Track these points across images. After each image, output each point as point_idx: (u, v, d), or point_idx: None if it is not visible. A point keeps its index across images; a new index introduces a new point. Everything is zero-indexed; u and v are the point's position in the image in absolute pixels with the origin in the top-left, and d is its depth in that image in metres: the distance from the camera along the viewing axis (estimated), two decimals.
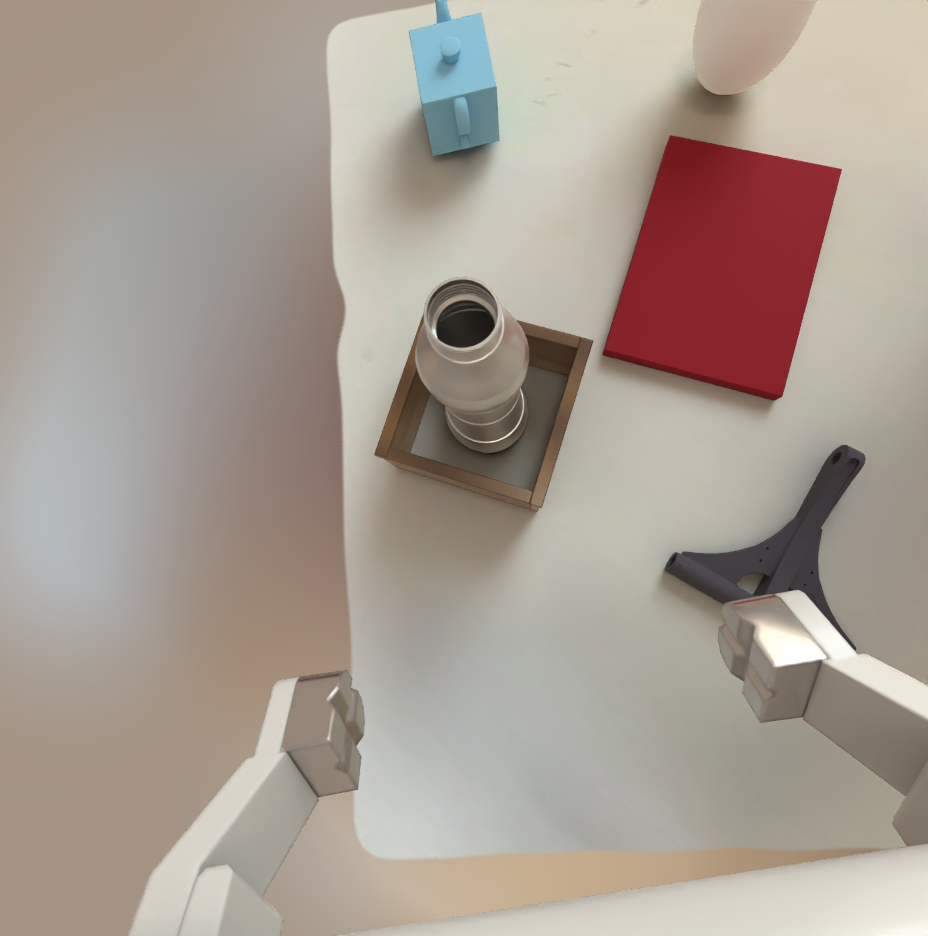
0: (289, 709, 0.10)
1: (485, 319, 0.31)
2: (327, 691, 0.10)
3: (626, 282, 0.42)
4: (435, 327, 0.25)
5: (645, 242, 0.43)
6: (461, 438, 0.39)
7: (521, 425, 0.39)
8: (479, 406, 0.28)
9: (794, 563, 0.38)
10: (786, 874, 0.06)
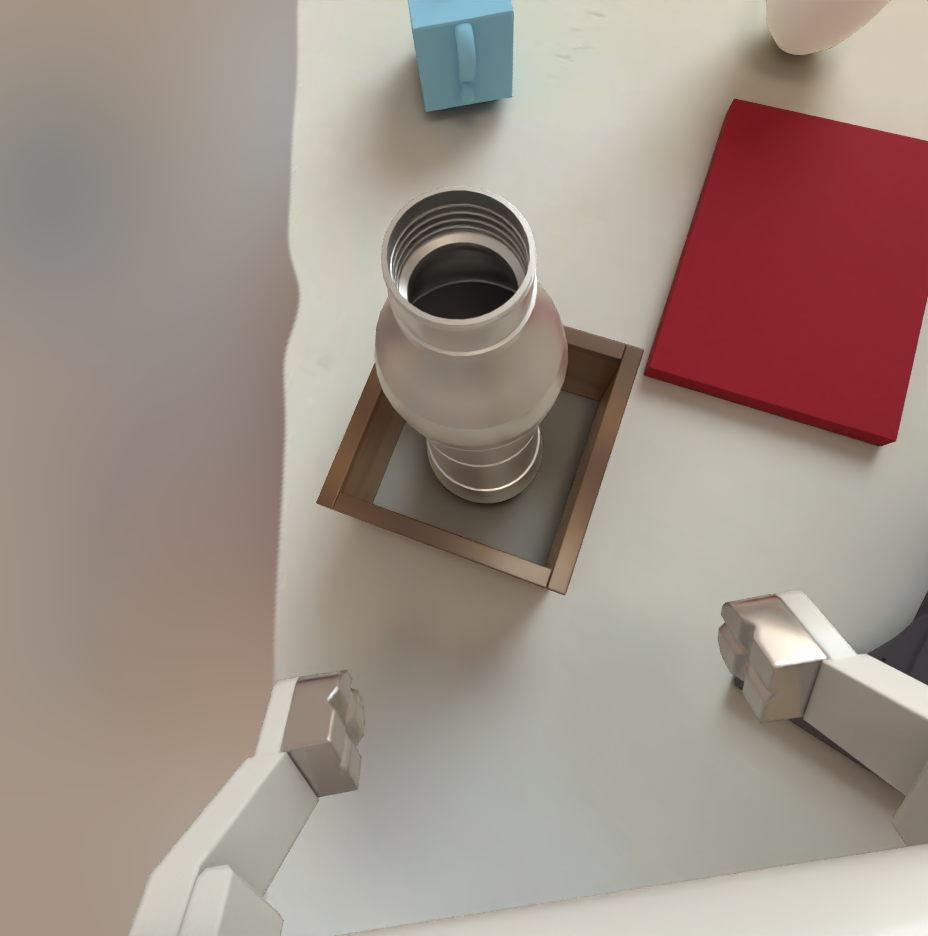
0: (289, 709, 0.10)
1: (492, 300, 0.19)
2: (327, 691, 0.10)
3: (678, 279, 0.31)
4: (406, 289, 0.14)
5: (703, 229, 0.32)
6: (447, 482, 0.27)
7: (534, 467, 0.27)
8: (480, 438, 0.16)
9: None
10: (786, 874, 0.06)
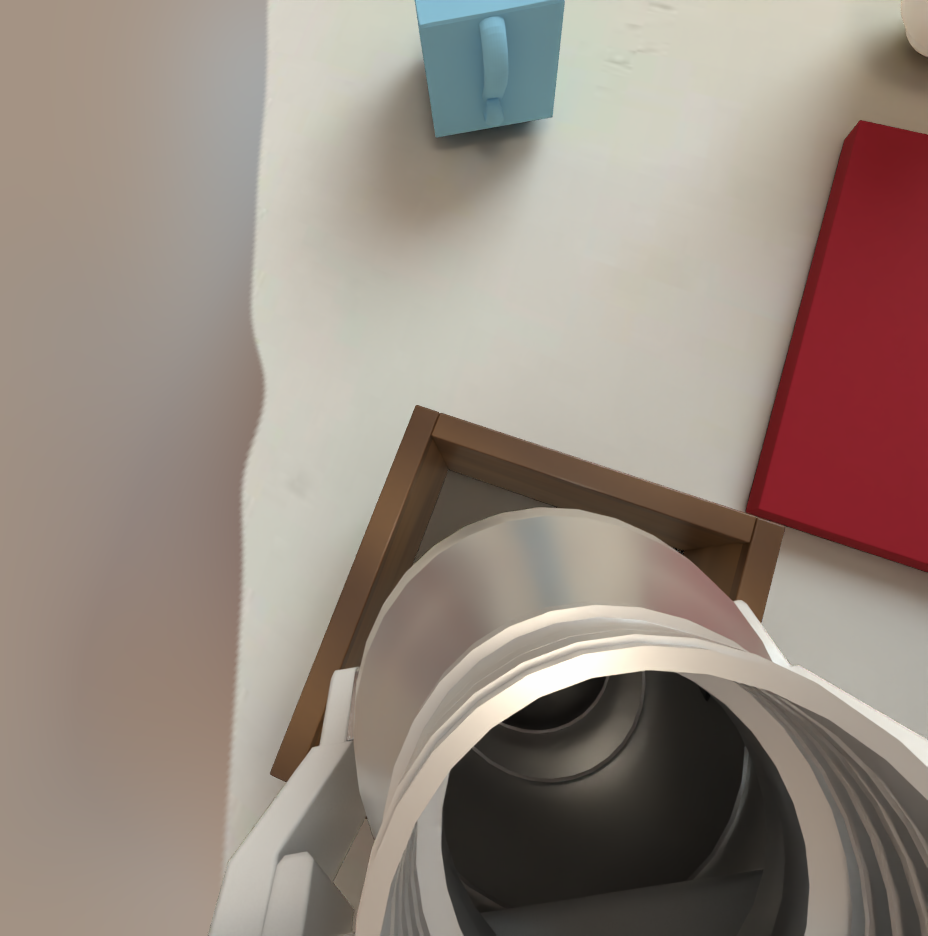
0: (351, 698, 0.10)
1: None
2: None
3: (794, 378, 0.22)
4: (438, 810, 0.04)
5: (826, 305, 0.23)
6: None
7: None
8: None
9: None
10: None
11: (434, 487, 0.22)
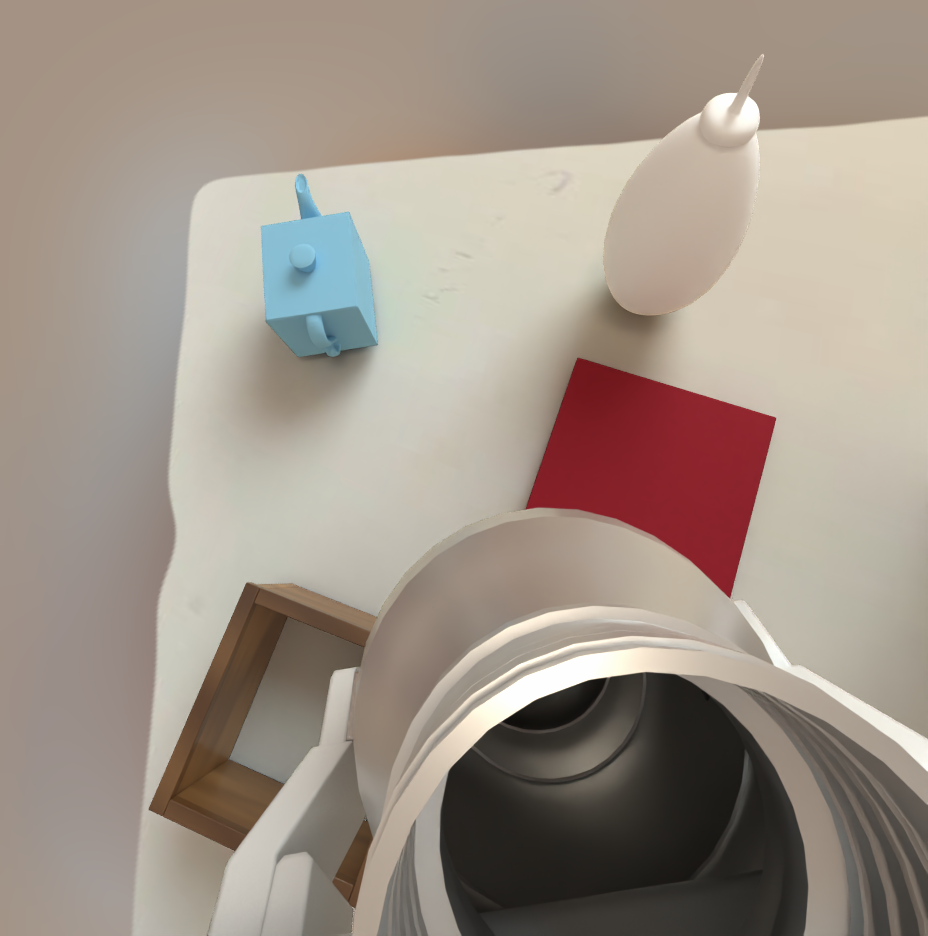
0: (350, 698, 0.10)
1: None
2: None
3: None
4: (437, 811, 0.04)
5: (541, 491, 0.35)
6: None
7: None
8: None
9: None
10: None
11: (278, 615, 0.34)
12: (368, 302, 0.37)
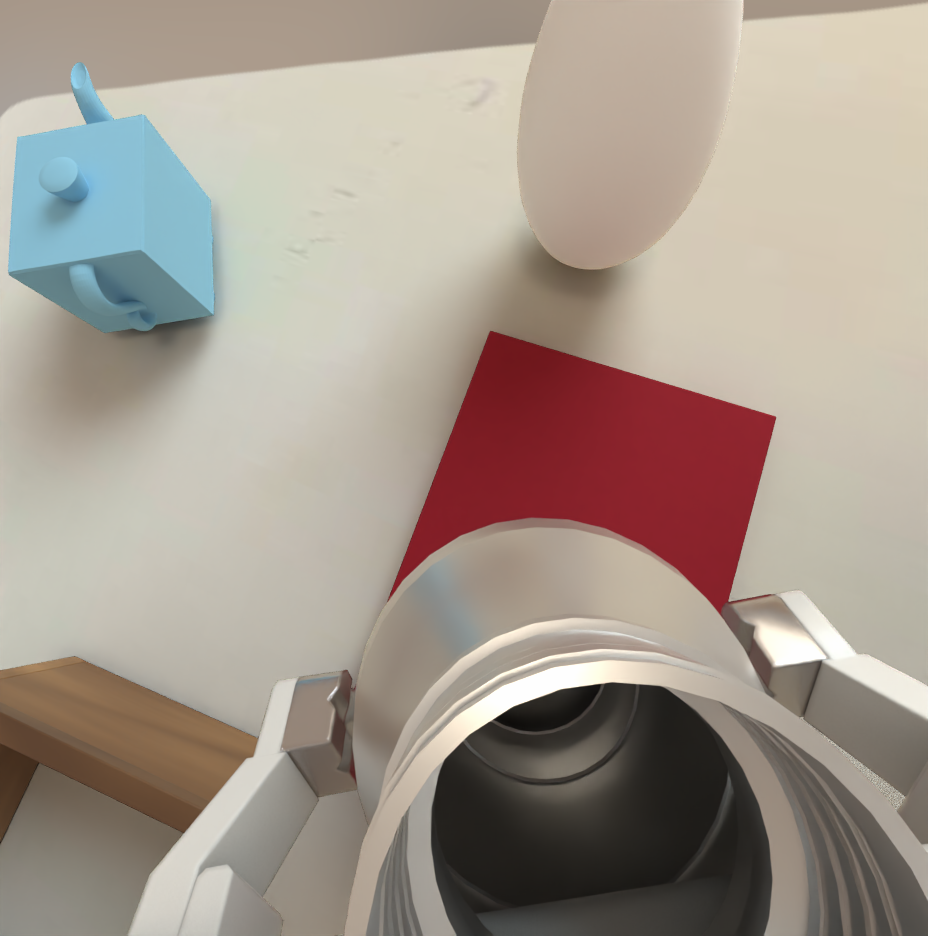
0: (289, 709, 0.10)
1: None
2: (327, 691, 0.10)
3: None
4: (429, 808, 0.05)
5: (430, 525, 0.24)
6: None
7: None
8: None
9: None
10: None
11: None
12: (192, 253, 0.26)
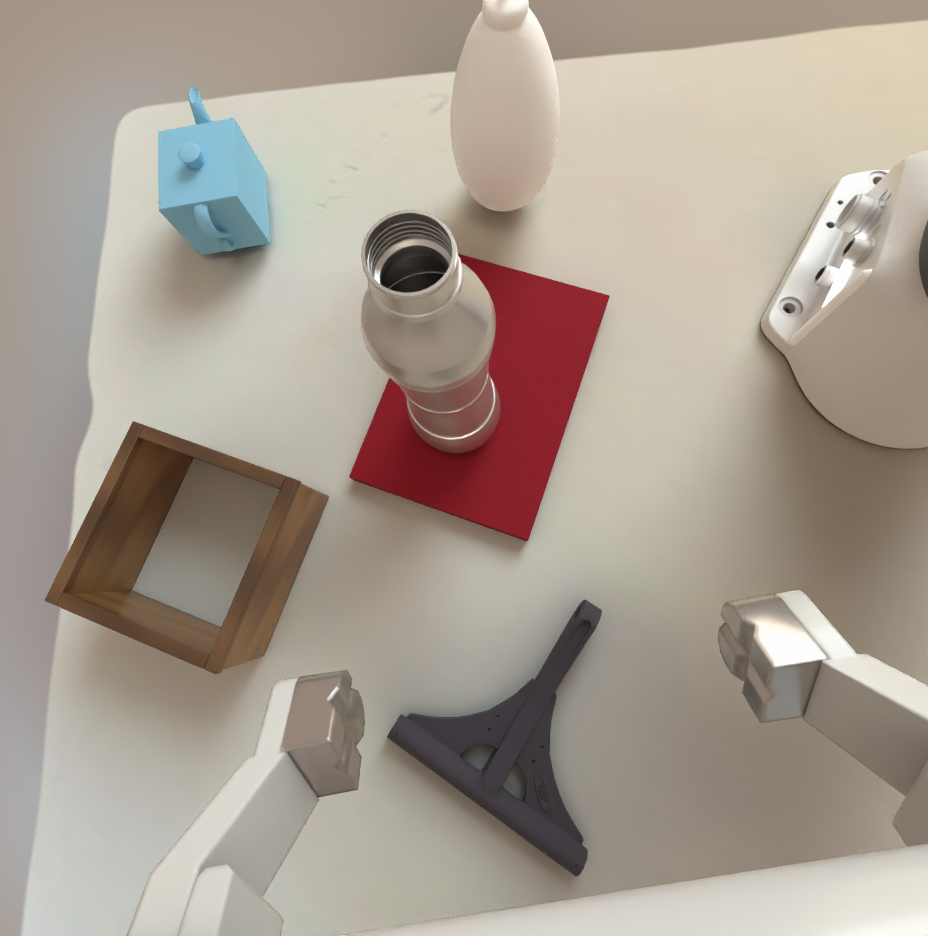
0: (289, 709, 0.10)
1: None
2: (327, 691, 0.10)
3: (379, 404, 0.39)
4: (379, 276, 0.21)
5: None
6: (423, 434, 0.34)
7: (491, 421, 0.34)
8: (433, 380, 0.23)
9: (521, 736, 0.33)
10: (786, 874, 0.06)
11: (173, 466, 0.39)
12: (258, 203, 0.42)
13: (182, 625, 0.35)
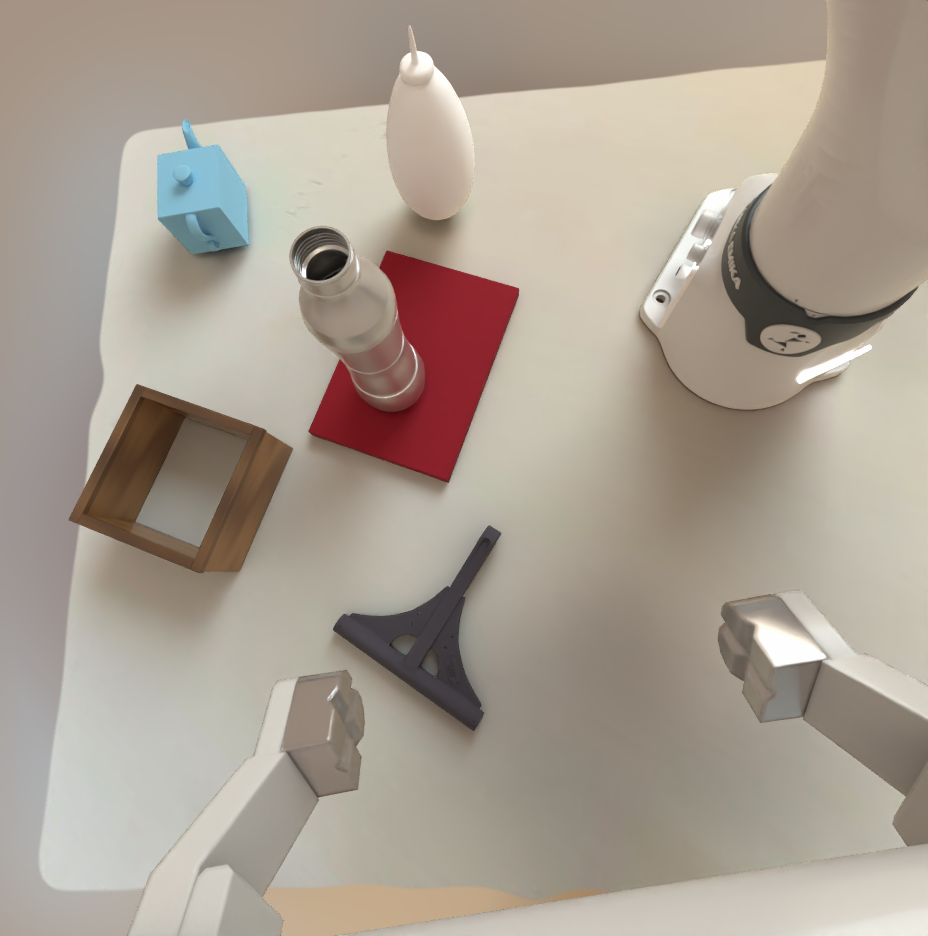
0: (289, 709, 0.10)
1: None
2: (327, 691, 0.10)
3: (334, 374, 0.49)
4: (306, 270, 0.30)
5: None
6: (362, 394, 0.44)
7: (415, 385, 0.44)
8: (348, 343, 0.33)
9: (436, 628, 0.43)
10: (786, 874, 0.06)
11: (168, 423, 0.49)
12: (238, 212, 0.51)
13: (174, 544, 0.45)
